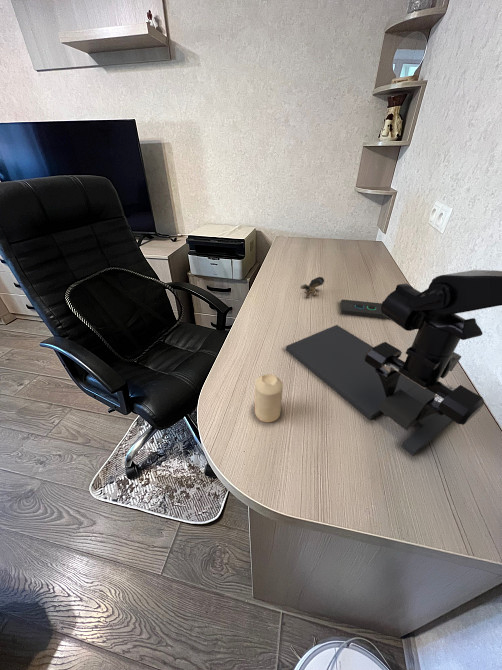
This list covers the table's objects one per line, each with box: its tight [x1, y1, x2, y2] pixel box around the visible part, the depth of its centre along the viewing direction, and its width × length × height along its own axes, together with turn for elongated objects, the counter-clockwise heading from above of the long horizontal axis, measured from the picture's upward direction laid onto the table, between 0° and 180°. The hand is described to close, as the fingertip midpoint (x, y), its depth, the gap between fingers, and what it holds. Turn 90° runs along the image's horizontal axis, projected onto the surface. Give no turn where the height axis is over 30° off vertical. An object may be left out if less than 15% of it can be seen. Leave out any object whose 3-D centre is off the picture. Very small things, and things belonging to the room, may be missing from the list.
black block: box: [379, 389, 424, 431], centre depth 54 cm, size 6×6×2 cm
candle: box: [254, 373, 284, 423], centre depth 57 cm, size 6×6×10 cm
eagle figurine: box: [299, 276, 325, 299], centre depth 105 cm, size 8×7×9 cm
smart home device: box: [340, 299, 392, 321], centre depth 95 cm, size 8×2×20 cm
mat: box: [285, 324, 454, 457], centre depth 69 cm, size 38×20×2 cm, turn 33°
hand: (403, 408), depth 54 cm, fingers closed on black block, 6 cm apart
